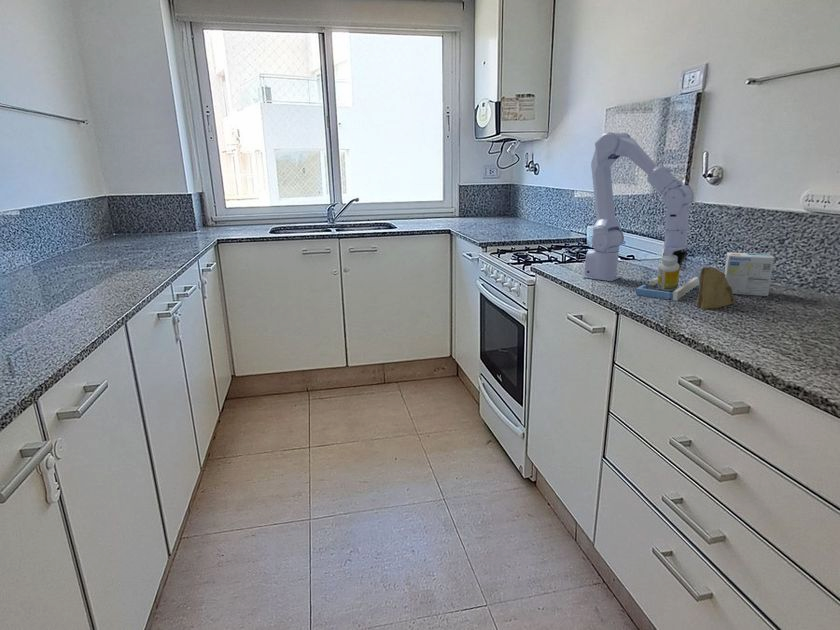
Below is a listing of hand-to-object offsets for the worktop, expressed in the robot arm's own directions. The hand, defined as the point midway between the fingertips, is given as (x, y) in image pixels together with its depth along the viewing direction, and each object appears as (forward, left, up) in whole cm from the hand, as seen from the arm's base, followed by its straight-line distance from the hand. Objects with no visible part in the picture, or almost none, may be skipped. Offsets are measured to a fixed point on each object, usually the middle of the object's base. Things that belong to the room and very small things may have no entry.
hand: (673, 277), depth 147 cm
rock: (+14, -13, -4) cm, 19 cm away
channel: (-1, -3, -3) cm, 5 cm away
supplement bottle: (-1, -2, -3) cm, 3 cm away
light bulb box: (+17, +6, -4) cm, 19 cm away
